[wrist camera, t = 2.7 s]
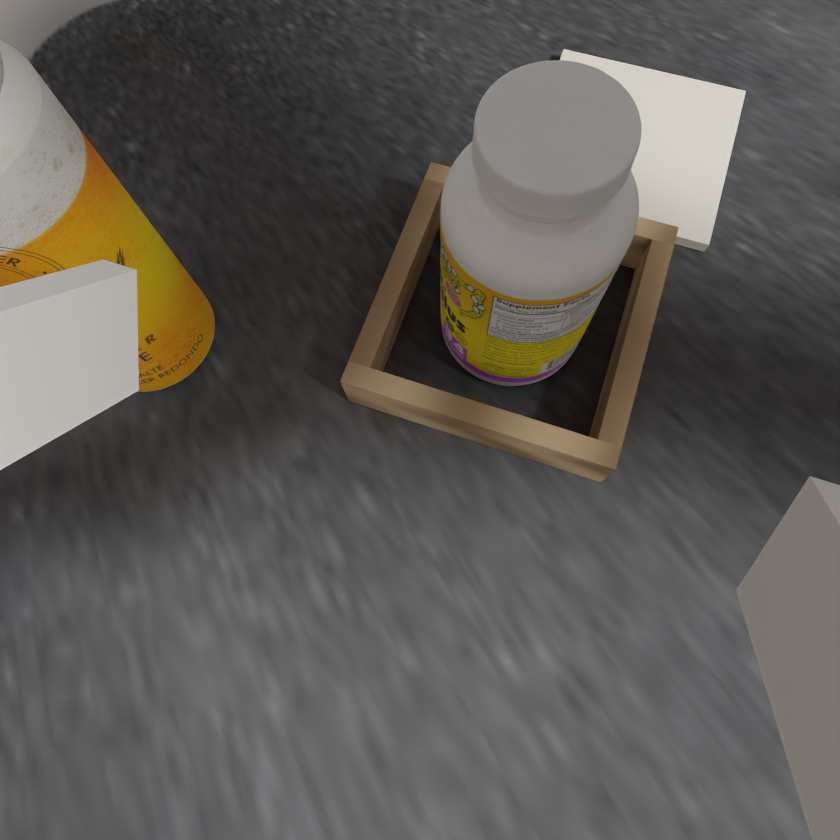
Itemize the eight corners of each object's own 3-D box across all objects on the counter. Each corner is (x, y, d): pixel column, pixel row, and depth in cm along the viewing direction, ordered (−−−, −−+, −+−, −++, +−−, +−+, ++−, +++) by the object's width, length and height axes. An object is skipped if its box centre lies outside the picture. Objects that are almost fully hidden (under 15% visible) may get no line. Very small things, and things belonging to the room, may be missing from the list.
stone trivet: (740, 100, 32) (746, 90, 32) (704, 251, 30) (709, 244, 29) (561, 58, 34) (563, 48, 33) (510, 200, 31) (512, 192, 30)
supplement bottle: (444, 264, 30) (446, 27, 18) (577, 269, 30) (672, 31, 17) (436, 388, 28) (432, 218, 16) (578, 395, 28) (688, 226, 15)
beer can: (80, 386, 29) (-279, 164, 14) (122, 276, 30) (-158, -18, 16) (199, 408, 28) (-50, 200, 14) (236, 295, 30) (48, 7, 16)
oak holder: (659, 257, 30) (678, 226, 27) (600, 482, 26) (616, 469, 24) (431, 196, 31) (430, 161, 29) (348, 401, 28) (340, 381, 26)
